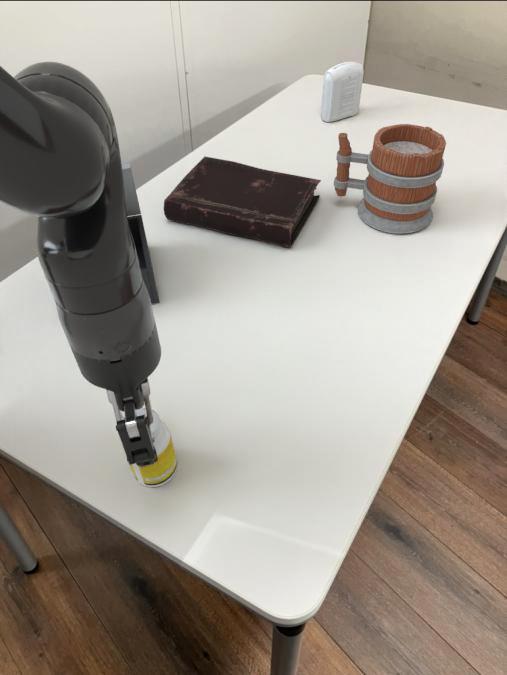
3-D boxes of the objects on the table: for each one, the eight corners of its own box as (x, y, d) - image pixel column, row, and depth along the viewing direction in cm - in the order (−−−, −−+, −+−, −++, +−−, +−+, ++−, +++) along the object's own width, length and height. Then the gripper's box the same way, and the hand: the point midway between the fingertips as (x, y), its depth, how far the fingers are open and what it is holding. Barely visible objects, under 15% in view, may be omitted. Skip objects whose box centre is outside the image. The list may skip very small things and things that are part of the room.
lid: (130, 168, 71) (123, 132, 72) (37, 181, 69) (30, 145, 70) (141, 214, 87) (135, 185, 88) (65, 226, 85) (60, 196, 86)
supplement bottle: (186, 460, 63) (176, 414, 55) (159, 496, 59) (144, 452, 52) (152, 441, 64) (137, 394, 57) (123, 475, 61) (104, 430, 54)
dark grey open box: (159, 303, 82) (152, 270, 77) (79, 318, 80) (67, 285, 75) (148, 246, 92) (141, 214, 87) (77, 258, 90) (66, 226, 85)
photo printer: (350, 108, 131) (356, 56, 122) (361, 114, 128) (368, 61, 119) (317, 118, 127) (321, 65, 118) (328, 124, 125) (332, 70, 115)
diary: (289, 252, 90) (290, 228, 87) (165, 223, 97) (161, 200, 94) (320, 198, 102) (322, 175, 98) (208, 176, 109) (206, 154, 105)
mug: (428, 241, 92) (450, 163, 81) (323, 224, 96) (330, 148, 85) (435, 200, 101) (455, 125, 90) (338, 186, 105) (346, 113, 94)
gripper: (64, 280, 48) (104, 385, 60) (67, 398, 39) (113, 495, 51) (144, 266, 49) (167, 372, 61) (165, 377, 40) (187, 477, 52)
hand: (142, 428), depth 56 cm, fingers open, 8 cm apart
